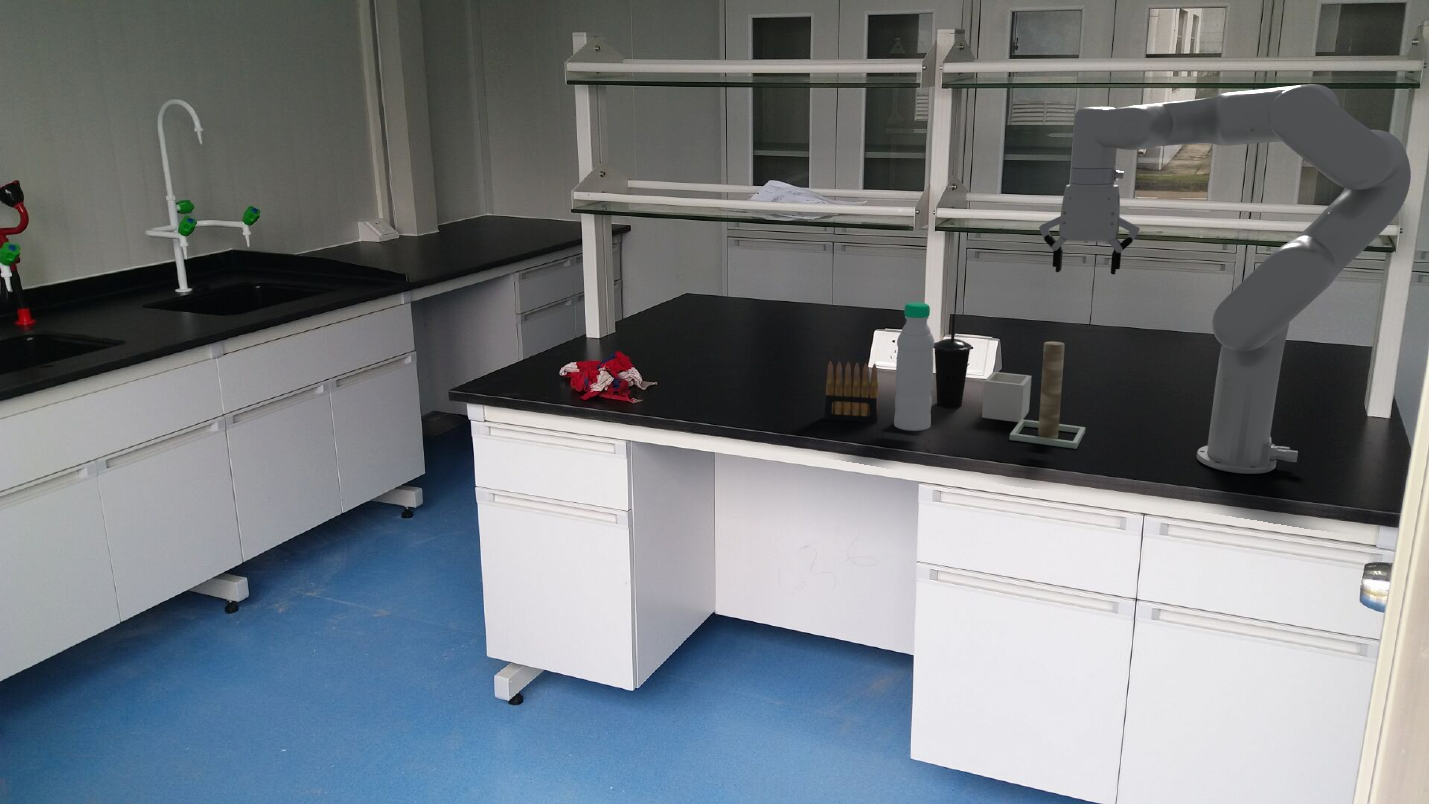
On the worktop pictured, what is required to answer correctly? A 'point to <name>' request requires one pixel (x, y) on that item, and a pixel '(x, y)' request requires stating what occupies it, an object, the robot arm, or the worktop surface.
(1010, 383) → the holder
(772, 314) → the worktop surface
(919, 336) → the water bottle
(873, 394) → the ammunition clip
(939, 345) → the drinking cup
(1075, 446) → the tray
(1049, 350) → the dowel
